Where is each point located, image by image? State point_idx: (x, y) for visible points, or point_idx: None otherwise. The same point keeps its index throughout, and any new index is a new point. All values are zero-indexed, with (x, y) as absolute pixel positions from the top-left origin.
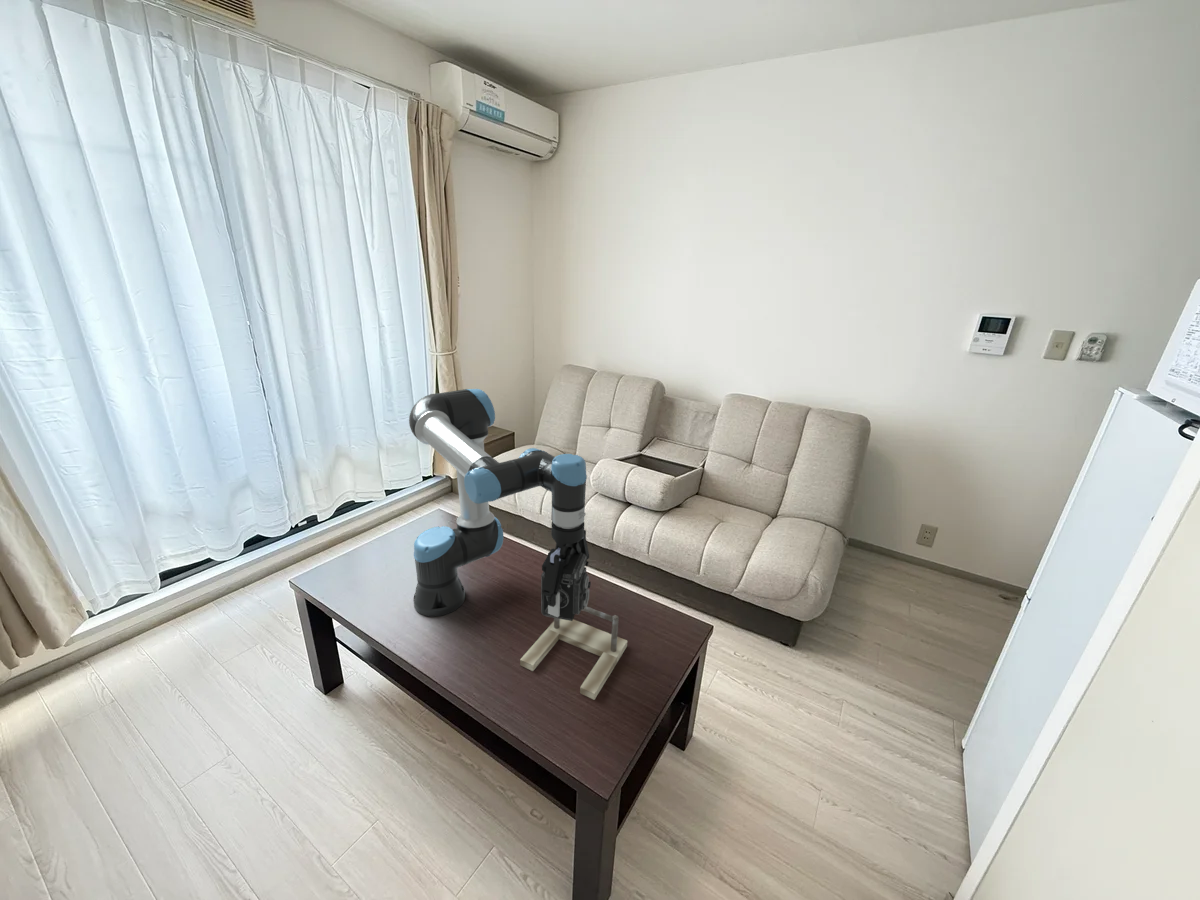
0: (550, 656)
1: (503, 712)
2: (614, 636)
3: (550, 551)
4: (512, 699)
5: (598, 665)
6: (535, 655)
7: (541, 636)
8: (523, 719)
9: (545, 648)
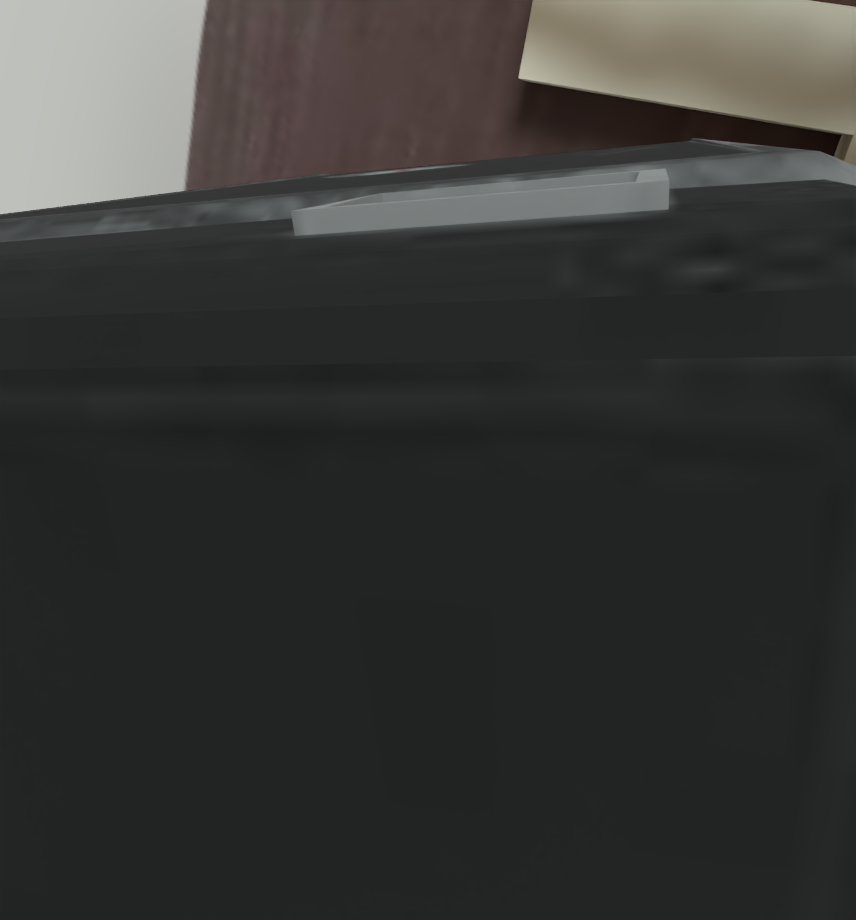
0: (668, 139)
1: (246, 53)
2: None
3: (453, 339)
4: (323, 59)
5: None
6: (601, 55)
7: (796, 9)
8: (254, 172)
9: (681, 96)
